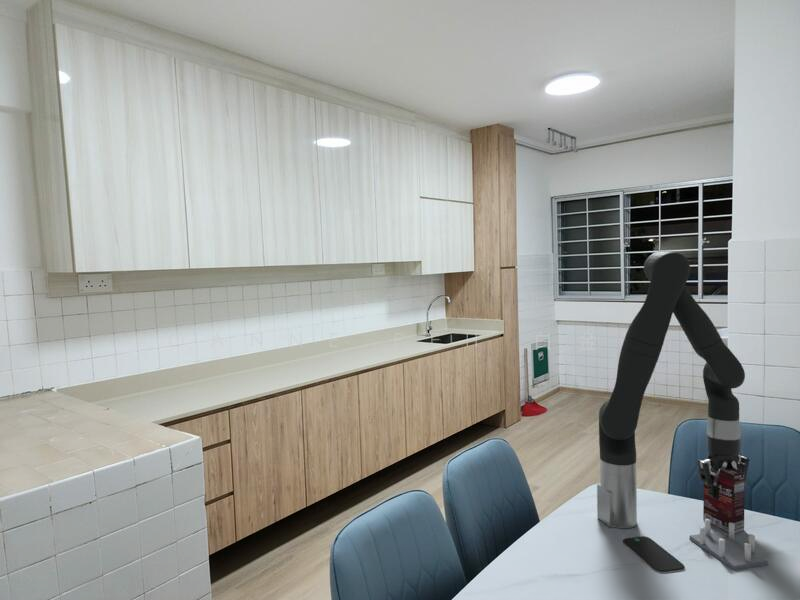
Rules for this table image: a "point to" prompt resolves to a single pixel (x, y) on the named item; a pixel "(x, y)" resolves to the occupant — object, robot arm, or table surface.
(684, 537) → the table surface
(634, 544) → the smartphone
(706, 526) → the grey peg holder
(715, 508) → the supplement box
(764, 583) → the table surface
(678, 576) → the table surface
